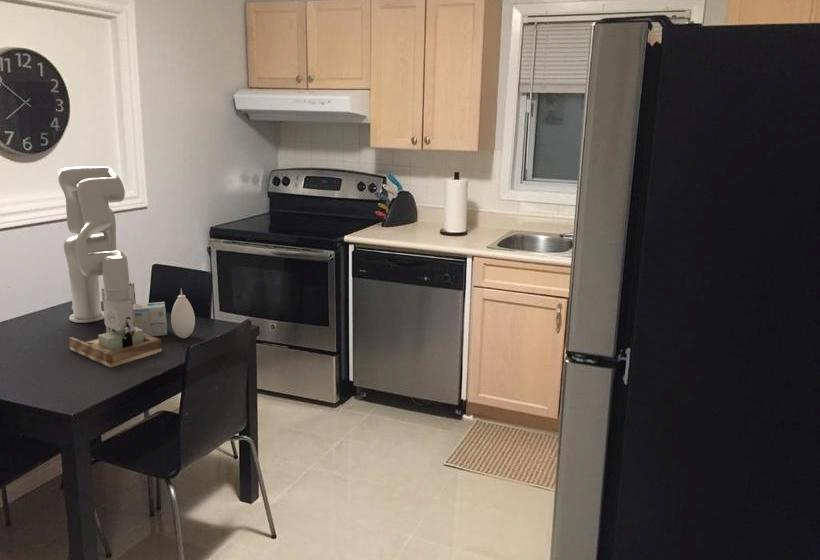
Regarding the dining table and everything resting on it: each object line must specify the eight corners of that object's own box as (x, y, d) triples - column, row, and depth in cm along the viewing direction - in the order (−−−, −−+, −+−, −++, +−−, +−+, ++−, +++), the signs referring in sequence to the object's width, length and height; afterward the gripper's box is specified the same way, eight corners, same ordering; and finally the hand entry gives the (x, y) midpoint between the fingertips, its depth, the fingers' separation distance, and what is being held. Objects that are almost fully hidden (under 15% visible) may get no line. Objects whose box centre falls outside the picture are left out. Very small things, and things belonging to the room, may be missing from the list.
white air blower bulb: (198, 333, 234) (195, 285, 230) (192, 341, 227) (189, 291, 222) (176, 333, 234) (173, 285, 230) (169, 341, 227) (165, 291, 222)
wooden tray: (70, 349, 216) (68, 337, 215) (121, 335, 230) (120, 324, 229) (110, 367, 203) (109, 354, 202) (161, 351, 217) (160, 339, 216)
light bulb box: (167, 329, 238) (165, 301, 235) (167, 335, 232) (165, 306, 229) (135, 332, 234) (133, 303, 232) (135, 338, 228) (132, 308, 226)
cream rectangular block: (99, 352, 211) (98, 335, 210) (134, 342, 220) (132, 325, 219) (109, 357, 208) (108, 339, 206) (144, 347, 217) (143, 329, 215)
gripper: (91, 291, 211) (96, 344, 216) (121, 302, 201) (126, 356, 206) (113, 287, 217) (118, 338, 222) (143, 296, 207) (147, 350, 212)
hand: (122, 346), depth 214 cm, fingers closed on cream rectangular block, 6 cm apart
